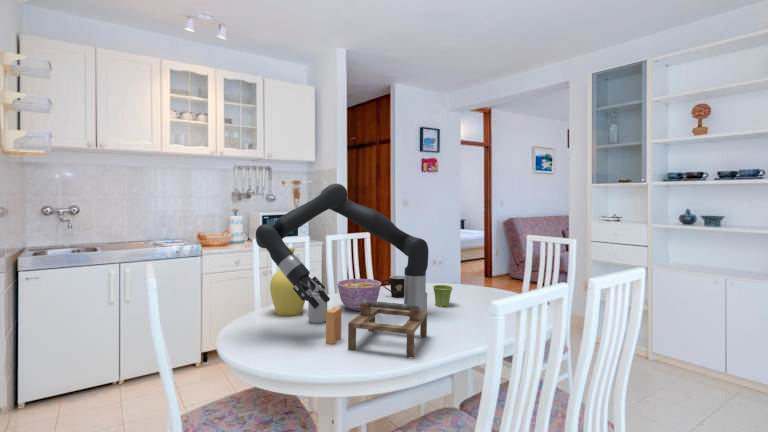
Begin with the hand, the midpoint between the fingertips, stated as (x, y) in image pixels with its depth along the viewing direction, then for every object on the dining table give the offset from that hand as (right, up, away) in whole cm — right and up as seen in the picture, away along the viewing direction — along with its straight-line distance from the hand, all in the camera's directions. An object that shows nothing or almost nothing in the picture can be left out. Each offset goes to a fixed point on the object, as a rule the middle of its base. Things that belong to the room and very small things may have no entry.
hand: (322, 303), depth 149 cm
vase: (-20, -11, +34) cm, 41 cm away
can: (-5, -12, +21) cm, 25 cm away
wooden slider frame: (+23, -13, -2) cm, 27 cm away
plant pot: (+49, -11, +49) cm, 70 cm away
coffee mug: (+27, -10, +65) cm, 71 cm away
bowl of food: (+10, -11, +42) cm, 45 cm away
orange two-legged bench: (+4, -13, -1) cm, 13 cm away
